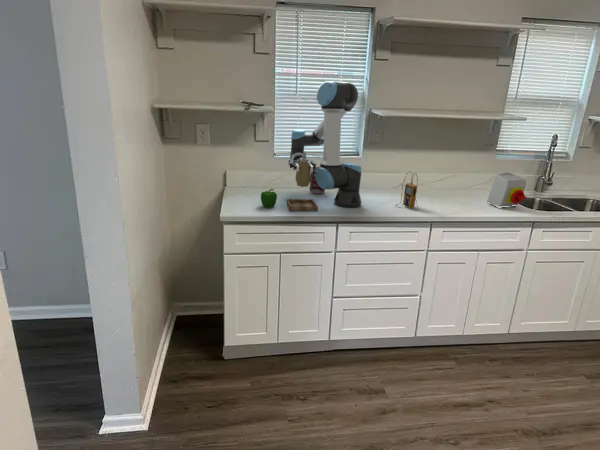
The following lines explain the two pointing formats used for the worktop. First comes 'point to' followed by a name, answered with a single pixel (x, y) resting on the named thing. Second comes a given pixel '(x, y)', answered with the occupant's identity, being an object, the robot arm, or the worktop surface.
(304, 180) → the squeeze bottle
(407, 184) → the multimeter
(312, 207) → the walnut tray
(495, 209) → the worktop surface
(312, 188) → the supplement box
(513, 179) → the electrical switch box
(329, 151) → the robot arm
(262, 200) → the bell pepper
